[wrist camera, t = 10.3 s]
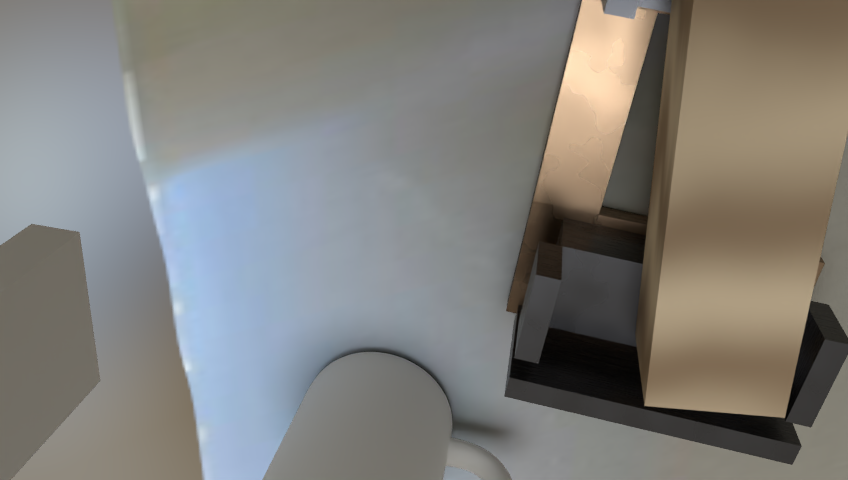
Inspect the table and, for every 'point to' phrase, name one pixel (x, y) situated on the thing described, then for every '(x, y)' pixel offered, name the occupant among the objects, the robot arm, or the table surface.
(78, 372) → the robot arm
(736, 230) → the rail
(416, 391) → the mug
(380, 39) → the table surface
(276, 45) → the table surface
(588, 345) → the brackets
